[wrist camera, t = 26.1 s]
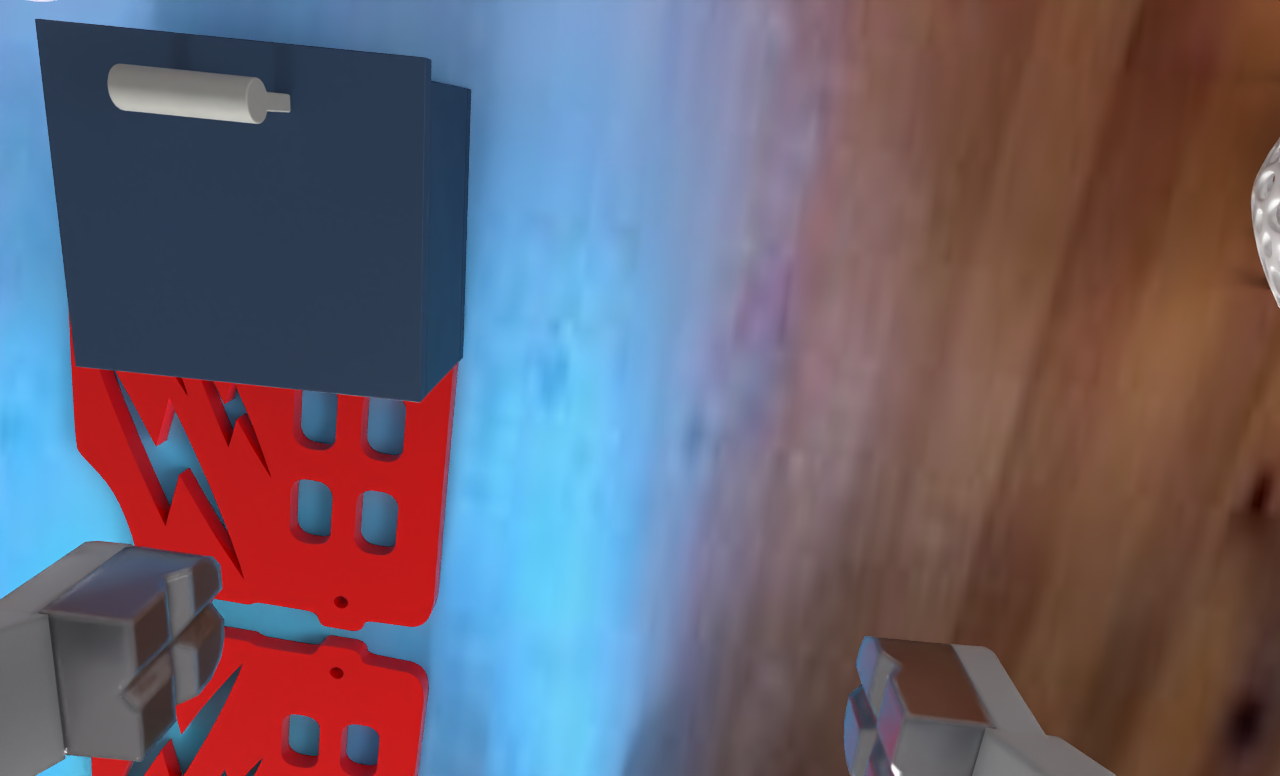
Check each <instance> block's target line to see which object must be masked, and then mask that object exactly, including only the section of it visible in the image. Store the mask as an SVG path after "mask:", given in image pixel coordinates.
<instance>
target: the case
mask: <svg viewBox="0 0 1280 776" xmlns="http://www.w3.org/2000/svg"><path fill="white" fill-rule="evenodd" d="M470 110H471V89H468V88H463V87H458V86H453V85H448V84H444V83H439V82H434V81H431V110H430V167H429V223H428V279H427V335H426V391H425V396H427V395H428V394H429V392H430V391H431V390H432V389H433V388H434V387H435V386H436V385H437V384H438V383H439V382H440V381H441V380H442V379H443V378H444V377H445V376H446V374H447V373H448V372H449V371H450V370H451V369H452V368H453V367H454V366H455V365H456V364H457V363H458V362H459V361H460V360H461V359H462V358H463V336H464V304H465V271H466V239H467V207H468V174H469V142H470Z"/></svg>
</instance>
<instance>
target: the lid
mask: <svg viewBox="0 0 1280 776" xmlns="http://www.w3.org/2000/svg"><path fill="white" fill-rule="evenodd" d="M35 22H36V31H37V39H38V48H39V56H40V65H41V74H42V82H43V91H44V99H45V108H46V116H47V125H48V134H49V142H50V151H51V159H52V168H53V177H54V185H55V194H56V202H57V211H58V219H59V228H60V237H61V245H62V254H63V262H64V271H65V279H66V288H67V297H68V305H69V314H70V322H71V331H72V340H73V348H74V357H75V365H76V367H85V368H95V369H104V370H114V371H123V372H133V373H142V374H152V375H162V376H171V377H181V378H190V379H200V380H209V381H219V382H228V383H238V384H247V385H257V386H267V387H276V388H286V389H295V390H305V391H314V392H324V393H333V394H343V395H353V396H362V397H372V398H381V399H391V400H400V401H410V402H419V403H420V402H421V401H422V400H423V399H424V398H425V391H426V335H427V279H428V223H429V167H430V110H431V59H428V58H424V57H414V56H404V55H394V54H384V53H374V52H364V51H354V50H344V49H334V48H324V47H314V46H304V45H294V44H284V43H274V42H264V41H254V40H244V39H234V38H224V37H214V36H204V35H194V34H184V33H174V32H164V31H154V30H144V29H134V28H124V27H114V26H104V25H94V24H84V23H74V22H64V21H54V20H44V19H35Z"/></svg>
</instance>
